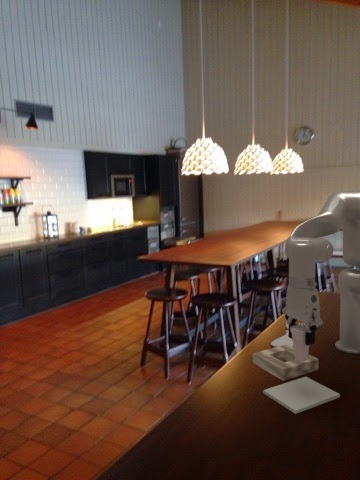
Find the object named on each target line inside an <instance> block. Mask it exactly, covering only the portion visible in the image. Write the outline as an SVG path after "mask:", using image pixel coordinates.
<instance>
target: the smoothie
mask: <svg viewBox="0 0 360 480" xmlns="http://www.w3.org/2000/svg"><path fill="white" fill-rule="evenodd" d="M301 324H302V325H301ZM301 324H300V325H299V324H297V325H293V326H291V330H290V331H291V332H292V338H291V339H292V340H293V348H294V355H295V359H296V360H298V361H306V360H307V359H308V354H309V352H310V345H308V346H307V345H306V344H305V333H306V332H307V329H306V325H304V322H302V321H301Z"/></svg>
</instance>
